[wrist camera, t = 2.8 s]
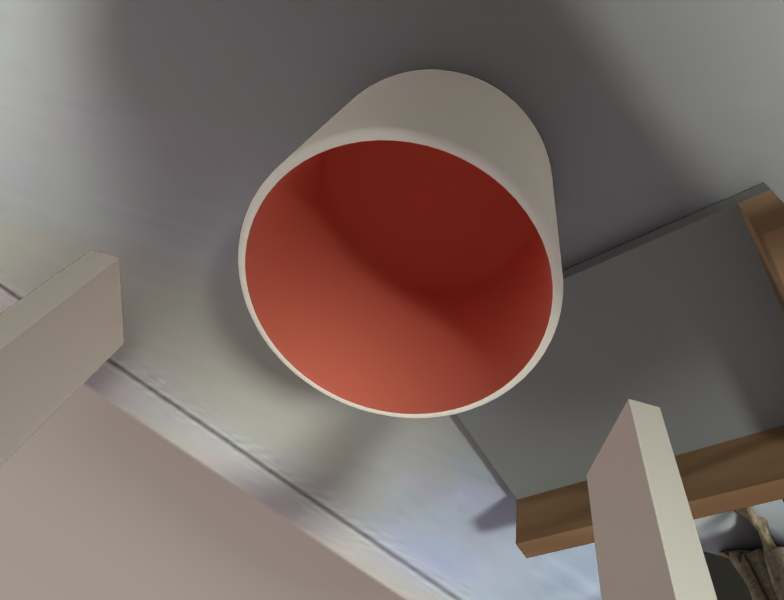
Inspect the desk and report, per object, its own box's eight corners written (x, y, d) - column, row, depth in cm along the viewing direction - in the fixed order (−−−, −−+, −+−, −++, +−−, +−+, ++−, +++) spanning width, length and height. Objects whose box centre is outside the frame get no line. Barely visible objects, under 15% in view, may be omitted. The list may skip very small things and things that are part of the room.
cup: (331, 271, 30) (254, 399, 21) (320, 58, 25) (214, 118, 16) (534, 291, 28) (538, 439, 20) (568, 68, 23) (593, 141, 15)
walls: (406, 346, 30) (396, 383, 28) (770, 189, 23) (800, 219, 21) (526, 513, 35) (526, 558, 32) (862, 423, 28) (896, 472, 25)
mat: (409, 338, 31) (406, 346, 30) (763, 182, 24) (770, 189, 23) (526, 502, 35) (526, 513, 35) (854, 412, 28) (862, 423, 28)
